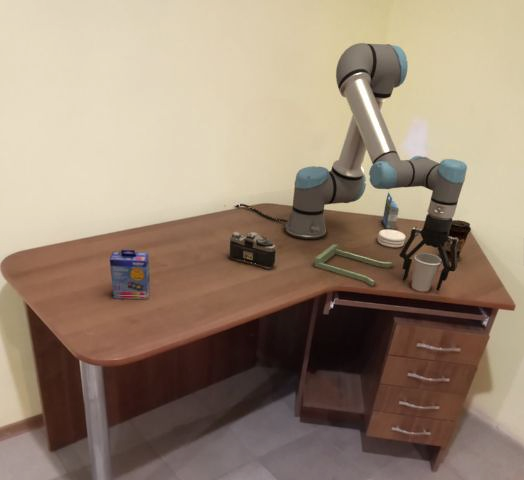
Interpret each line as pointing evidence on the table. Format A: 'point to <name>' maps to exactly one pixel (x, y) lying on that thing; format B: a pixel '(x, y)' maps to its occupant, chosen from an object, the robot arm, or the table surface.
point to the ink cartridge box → (130, 274)
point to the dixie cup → (424, 271)
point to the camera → (252, 249)
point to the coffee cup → (460, 231)
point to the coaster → (391, 238)
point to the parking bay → (333, 250)
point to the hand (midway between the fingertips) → (421, 283)
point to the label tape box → (390, 213)
